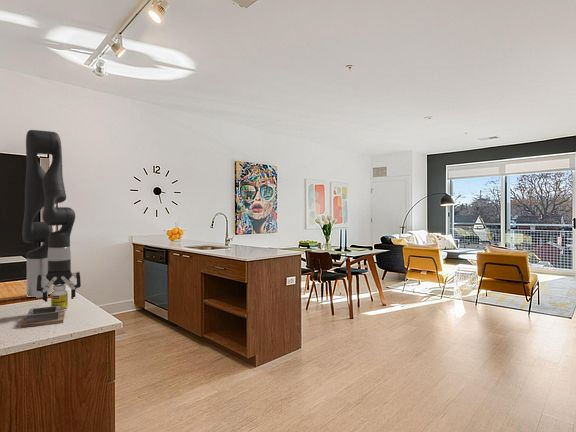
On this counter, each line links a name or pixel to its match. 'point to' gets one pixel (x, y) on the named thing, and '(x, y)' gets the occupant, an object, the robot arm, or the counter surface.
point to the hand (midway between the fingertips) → (59, 300)
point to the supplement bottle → (59, 297)
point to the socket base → (43, 316)
